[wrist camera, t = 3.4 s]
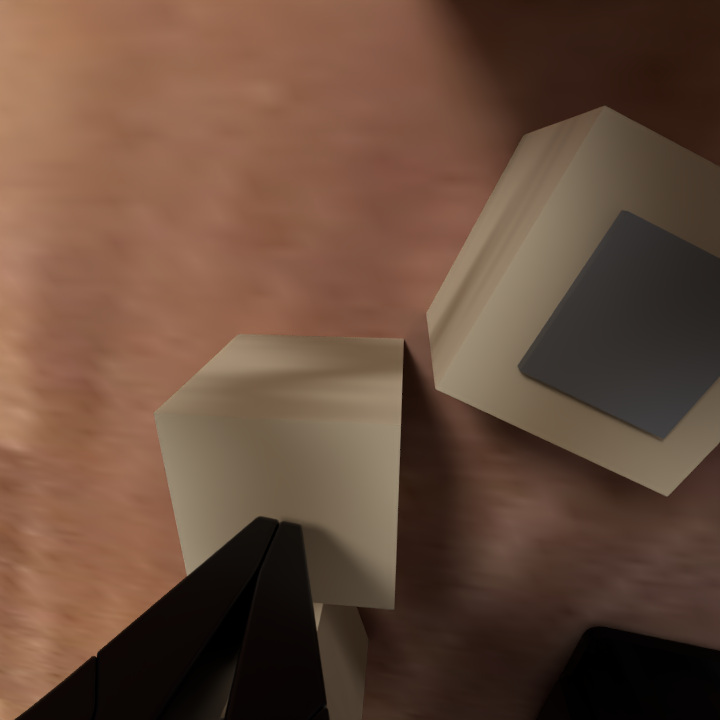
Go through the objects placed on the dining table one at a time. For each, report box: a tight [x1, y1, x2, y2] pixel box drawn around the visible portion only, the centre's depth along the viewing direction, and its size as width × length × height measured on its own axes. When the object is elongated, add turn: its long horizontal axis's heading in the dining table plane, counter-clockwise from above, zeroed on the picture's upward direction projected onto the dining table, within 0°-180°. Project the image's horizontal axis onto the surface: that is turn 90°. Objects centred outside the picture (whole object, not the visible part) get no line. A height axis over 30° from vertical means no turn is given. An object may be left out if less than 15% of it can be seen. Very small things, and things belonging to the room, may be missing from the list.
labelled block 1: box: [219, 603, 369, 720], centre depth 14 cm, size 4×4×5 cm
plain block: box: [154, 334, 404, 610], centre depth 11 cm, size 4×4×4 cm
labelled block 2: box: [426, 106, 720, 497], centre depth 9 cm, size 4×4×5 cm
